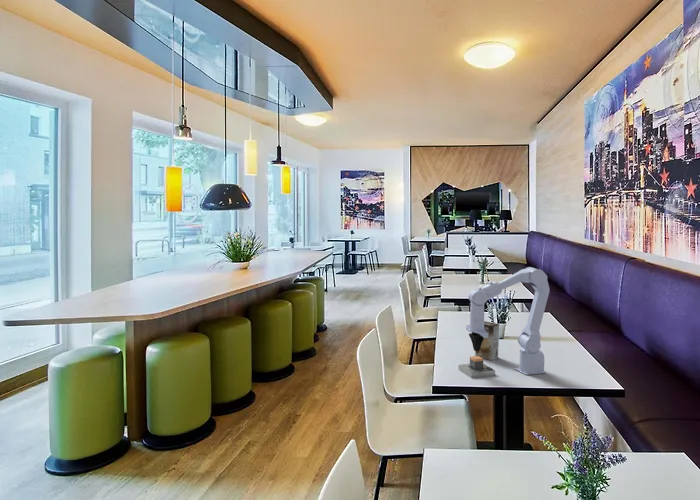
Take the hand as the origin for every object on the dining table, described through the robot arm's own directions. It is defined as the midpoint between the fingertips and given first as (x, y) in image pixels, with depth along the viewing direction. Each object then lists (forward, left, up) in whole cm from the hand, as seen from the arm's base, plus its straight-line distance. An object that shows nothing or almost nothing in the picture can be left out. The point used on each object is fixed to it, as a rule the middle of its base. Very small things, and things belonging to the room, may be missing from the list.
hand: (476, 350), depth 202 cm
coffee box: (-15, -18, -10) cm, 25 cm away
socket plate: (0, 0, -9) cm, 9 cm away
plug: (0, 0, -9) cm, 9 cm away
